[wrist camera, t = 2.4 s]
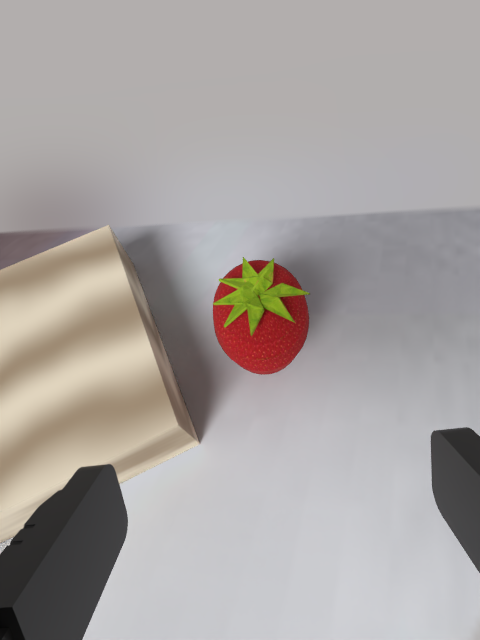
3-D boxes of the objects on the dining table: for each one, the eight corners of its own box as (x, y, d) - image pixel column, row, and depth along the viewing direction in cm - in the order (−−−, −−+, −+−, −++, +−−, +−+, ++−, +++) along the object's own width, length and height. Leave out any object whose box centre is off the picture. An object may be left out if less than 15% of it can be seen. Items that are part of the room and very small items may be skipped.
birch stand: (-13, 327, 31) (-61, 295, 27) (133, 264, 33) (108, 224, 28) (-3, 544, 22) (-76, 548, 18) (199, 443, 23) (178, 425, 19)
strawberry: (296, 304, 28) (295, 205, 19) (316, 394, 24) (327, 320, 16) (224, 315, 28) (192, 224, 20) (232, 406, 24) (197, 340, 16)
